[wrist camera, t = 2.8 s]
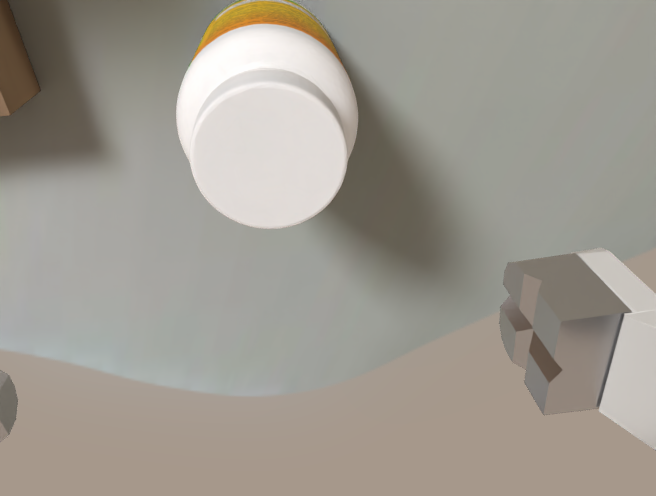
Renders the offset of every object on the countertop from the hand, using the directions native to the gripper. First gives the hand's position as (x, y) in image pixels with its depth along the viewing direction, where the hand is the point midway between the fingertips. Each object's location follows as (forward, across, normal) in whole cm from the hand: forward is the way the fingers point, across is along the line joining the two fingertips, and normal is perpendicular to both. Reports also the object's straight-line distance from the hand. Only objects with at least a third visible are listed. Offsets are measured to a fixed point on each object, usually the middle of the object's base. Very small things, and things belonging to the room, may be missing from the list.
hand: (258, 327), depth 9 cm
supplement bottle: (+16, 0, 0) cm, 16 cm away
